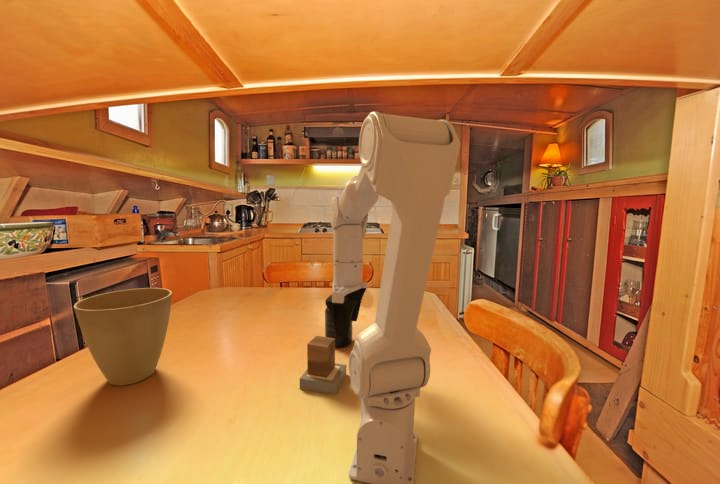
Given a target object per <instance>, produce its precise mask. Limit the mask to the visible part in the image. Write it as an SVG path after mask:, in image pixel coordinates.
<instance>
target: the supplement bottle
mask: <svg viewBox="0 0 720 484" xmlns="http://www.w3.org/2000/svg"><path fill="white" fill-rule="evenodd" d="M328 297H332V294H330V295H328ZM324 337H329V338H335V349H340V348H346V347H349V346H350V345H351V344H352V342H353V321H351V322H350V329H349V333H348V336H337V335H336V331H335V327H334V323H333V319H332V316H331V313H330V311H329V309H328V308H327V307H325V310H324Z"/></svg>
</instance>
